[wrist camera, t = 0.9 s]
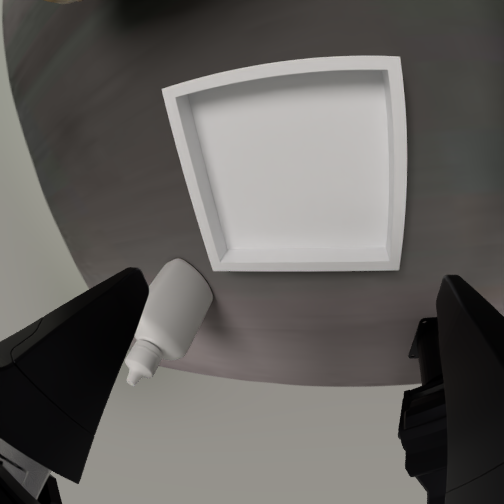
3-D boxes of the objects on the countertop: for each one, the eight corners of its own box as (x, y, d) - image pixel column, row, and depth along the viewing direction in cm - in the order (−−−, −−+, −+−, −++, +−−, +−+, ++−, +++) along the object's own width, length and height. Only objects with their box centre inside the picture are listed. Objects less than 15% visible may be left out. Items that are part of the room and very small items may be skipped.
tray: (394, 250, 20) (399, 270, 19) (222, 253, 25) (213, 270, 23) (390, 58, 13) (399, 56, 11) (179, 85, 17) (161, 89, 15)
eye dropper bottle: (177, 298, 30) (123, 393, 20) (163, 254, 27) (91, 353, 17) (216, 303, 29) (167, 408, 19) (205, 258, 26) (140, 370, 16)
